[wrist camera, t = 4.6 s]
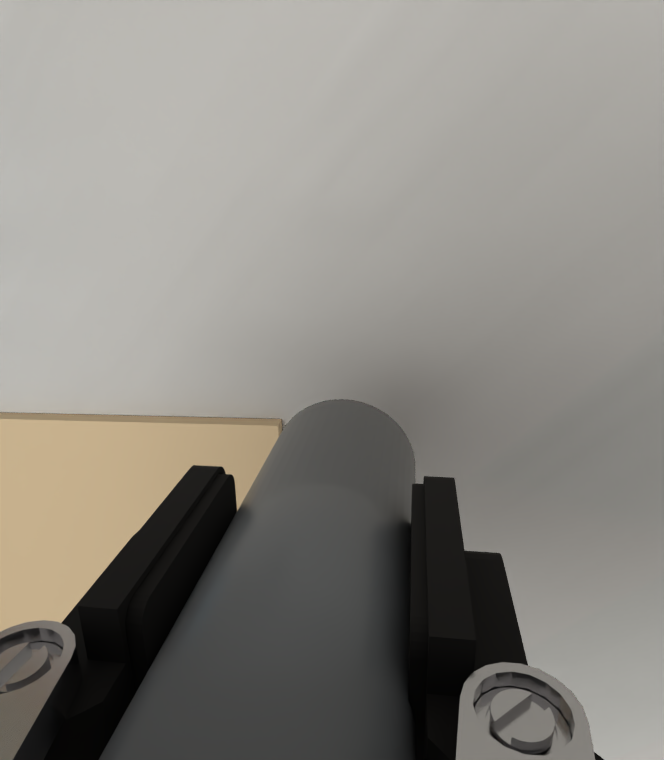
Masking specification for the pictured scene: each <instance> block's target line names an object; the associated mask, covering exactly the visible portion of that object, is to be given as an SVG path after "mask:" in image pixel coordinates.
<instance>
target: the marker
mask: <svg viewBox="0 0 664 760" xmlns="http://www.w3.org/2000/svg"><path fill="white" fill-rule="evenodd" d="M412 484H415V458H414V453H413V450H412V447H411V444H410V442H409V440H408V438H407V436H406V434H405V433H404V431H403V430H402V429H401V427H400V426H399V425H398V424H397V423H396V422H395V421H394V420H393V419H392V418H391V417H389V416H388V415H387V414H385V413H384V412H382V411H381V410H379V409H377V408H375V407H373V406H371V405H368V404H365V403H362V402H358V401H353V400H344V399H340V400H328V401H323V402H320V403H316V404H314V405H311V406H309V407H307V408H305V409H304V410H302V411H300V412H299V413H298V414H296V415H295V416H294V417H293V418H292V419H291V420H290V421H289V422H288V423H287V424H286V426H285V427H284V429H283V430H282V432H281V434H280V436H279V437H278V439H277V441H276V443H275V445H274V446H273V448H272V450H271V452H270V454H269V455H268V457H267V459H266V461H265V463H264V464H263V466H262V468H261V470H260V471H259V473H258V475H257V477H256V479H255V480H254V482H253V484H252V486H251V488H250V489H249V491H248V493H247V495H246V497H245V498H244V500H243V502H242V504H241V505H240V507H239V509H238V511H237V513H236V514H235V516H234V518H233V520H232V522H231V523H230V525H229V527H228V529H227V531H226V532H225V534H224V536H223V538H222V540H221V541H220V543H219V545H218V547H217V548H216V550H215V552H214V554H213V556H212V557H211V559H210V561H209V563H208V565H207V566H206V568H205V570H204V572H203V574H202V575H201V577H200V579H199V581H198V582H197V584H196V586H195V588H194V590H193V591H192V593H191V595H190V597H189V599H188V600H187V602H186V604H185V606H184V608H183V609H182V611H181V613H180V615H179V617H178V618H177V620H176V622H175V624H174V625H173V627H172V629H171V631H170V633H169V634H168V636H167V638H166V640H165V642H164V643H163V645H162V647H161V649H160V651H159V652H158V654H157V656H156V658H155V659H154V661H153V663H152V665H151V667H150V668H149V670H148V672H147V674H146V676H145V677H144V679H143V681H142V683H141V685H140V686H139V688H138V690H137V692H136V694H135V695H134V697H133V699H132V701H131V702H130V704H129V706H128V708H127V710H126V711H125V713H124V715H123V717H122V719H121V720H120V722H119V724H118V726H117V728H116V729H115V731H114V733H113V735H112V736H111V738H110V740H109V742H108V744H107V745H106V747H105V749H104V751H103V753H102V754H101V756H100V758H99V760H416V752H415V722H414V717H413V713H412V708H411V706H410V703H409V701H408V699H409V626H410V553H411V504H412Z"/></svg>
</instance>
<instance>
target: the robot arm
mask: <svg viewBox="0 0 664 760" xmlns="http://www.w3.org/2000/svg"><path fill="white" fill-rule="evenodd" d="M236 513H237V503H236V491H235V481H234V477H233V475H232V474H226V473H225V470H224V468H223V467H221V466H200V465H193V466H192V467H191V468H190V469H189V470H188V471H187V472H186V474H185V475H184V476H183V477H182V479H181V480H180V481H179V482H178V483H177V485H176V486H175V487H174V488H173V490H172V491H171V492H170V493H169V494H168V496H167V497H166V498H165V499H164V501H163V502H162V503H161V504H160V505H159V507H158V508H157V509H156V510H155V512H154V513H153V514H152V515H151V517H150V518H149V519H148V520H147V521H146V523H145V524H144V525H143V526H142V528H141V529H140V530H139V531H138V532H137V533H135V534H134V535H133V536H132V538H131V539H130V540H129V541H128V542H127V544H126V545H125V546H124V547H123V549H122V550H121V551H120V552H119V553H118V555H117V556H116V557H115V558H114V559H113V561H112V562H111V563H110V564H109V566H108V567H107V568H106V569H105V570H104V572H103V573H102V574H101V575H100V576H99V578H98V579H97V580H96V581H95V583H94V584H93V585H92V586H91V587H90V589H89V590H88V591H87V592H86V594H85V595H84V596H83V597H82V598H81V600H80V601H79V602H78V603H77V604H76V606H75V607H74V608H73V609H72V611H71V612H70V613H69V614H68V615H67V617H66V618H65V619H64V620H63V622H62V623H60V622H56V621H47V620H40V621H32V622H26V623H22V624H19V625H16V626H12V627H9V628H7V629H5V630H3V631H1V632H0V760H99V758H100V756H101V754H102V753H103V751H104V749H105V747H106V745H107V744H108V742H109V740H110V738H111V736H112V735H113V733H114V731H115V729H116V728H117V726H118V724H119V722H120V720H121V719H122V717H123V715H124V713H125V711H126V710H127V708H128V706H129V704H130V702H131V701H132V699H133V697H134V695H135V694H136V692H137V690H138V688H139V686H140V685H141V683H142V681H143V679H144V677H145V676H146V674H147V672H148V670H149V668H150V667H151V665H152V663H153V661H154V659H155V658H156V656H157V654H158V652H159V651H160V649H161V647H162V645H163V643H164V642H165V640H166V638H167V636H168V634H169V633H170V631H171V629H172V627H173V625H174V624H175V622H176V620H177V618H178V617H179V615H180V613H181V611H182V609H183V608H184V606H185V604H186V602H187V600H188V599H189V597H190V595H191V593H192V591H193V590H194V588H195V586H196V584H197V582H198V581H199V579H200V577H201V575H202V574H203V572H204V570H205V568H206V566H207V565H208V563H209V561H210V559H211V557H212V556H213V554H214V552H215V550H216V548H217V547H218V545H219V543H220V541H221V540H222V538H223V536H224V534H225V532H226V531H227V529H228V527H229V525H230V523H231V522H232V520H233V518H234V516H235V514H236ZM408 701H409V703H410V706H411V708H412V713H413V717H414V722H415V752H416V760H604V759H603V758H601V757H600V756H599V755H597V754H596V753H595V752H594V750H593V744H592V738H591V733H590V727H589V723H588V720H587V717H586V714H585V712H584V709H583V706H582V705H581V704H580V702H579V701H578V700H577V698H576V697H575V696H574V694H573V693H572V691H570V690H569V689H568V688H567V687H566V686H565V685H563V684H562V683H561V682H560V681H559V680H557V679H556V678H554V677H553V676H551V675H549V674H547V673H545V672H543V671H541V670H540V669H537V668H534V667H530V666H528V664H527V660H526V656H525V651H524V647H523V643H522V639H521V635H520V630H519V626H518V622H517V618H516V614H515V609H514V605H513V601H512V597H511V592H510V588H509V584H508V580H507V576H506V571H505V567H504V563H503V559H502V556H501V554H500V553H489V552H474V551H464V545H463V538H462V531H461V523H460V516H459V509H458V501H457V494H456V487H455V480H454V478H448V477H427V476H424V483H423V484H412V504H411V553H410V626H409V699H408Z"/></svg>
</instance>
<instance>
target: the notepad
mask: <svg viewBox="0 0 664 760" xmlns="http://www.w3.org/2000/svg"><path fill="white" fill-rule="evenodd" d="M281 432H282V419H252V418H210V417H167V416H125V415H83V414H40V413H0V632H1V631H3V630H5V629H7V628H9V627H12V626H16V625H19V624H22V623H26V622H32V621H40V620H47V621H56V622H60V623H62V622H63V620H64V619H65V618H66V617H67V615H68V614H69V613H70V612H71V611H72V609H73V608H74V607H75V606H76V604H77V603H78V602H79V601H80V600H81V598H82V597H83V596H84V595H85V594H86V592H87V591H88V590H89V589H90V587H91V586H92V585H93V584H94V583H95V581H96V580H97V579H98V578H99V576H100V575H101V574H102V573H103V572H104V570H105V569H106V568H107V567H108V566H109V564H110V563H111V562H112V561H113V559H114V558H115V557H116V556H117V555H118V553H119V552H120V551H121V550H122V549H123V547H124V546H125V545H126V544H127V542H128V541H129V540H130V539H131V538H132V536H133V535H134V534H135V533H137V532H138V531H139V530H140V529H141V528H142V526H143V525H144V524H145V523H146V521H147V520H148V519H149V518H150V517H151V515H152V514H153V513H154V512H155V510H156V509H157V508H158V507H159V505H160V504H161V503H162V502H163V501H164V499H165V498H166V497H167V496H168V494H169V493H170V492H171V491H172V490H173V488H174V487H175V486H176V485H177V483H178V482H179V481H180V480H181V479H182V477H183V476H184V475H185V474H186V472H187V471H188V470H189V469H190V468H191V467H192V466H193V465H200V466H221V467H223V468H224V470H225V473H226V474H232V475H233V477H234V481H235V491H236V503H237V511H238V509H239V507H240V505H241V504H242V502H243V500H244V498H245V497H246V495H247V493H248V491H249V489H250V488H251V486H252V484H253V482H254V480H255V479H256V477H257V475H258V473H259V471H260V470H261V468H262V466H263V464H264V463H265V461H266V459H267V457H268V455H269V454H270V452H271V450H272V448H273V446H274V445H275V443H276V441H277V439H278V437H279V436H280V434H281Z"/></svg>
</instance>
